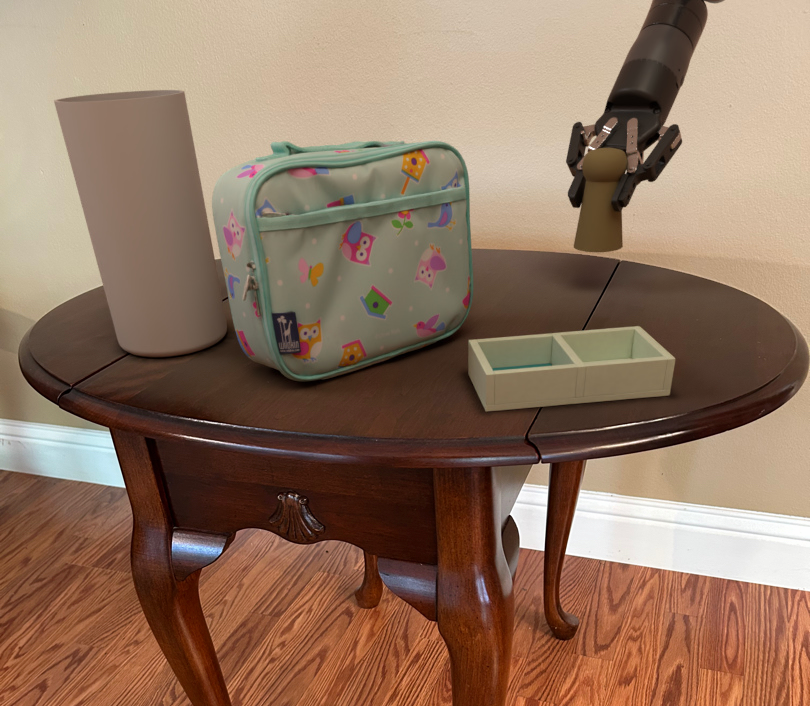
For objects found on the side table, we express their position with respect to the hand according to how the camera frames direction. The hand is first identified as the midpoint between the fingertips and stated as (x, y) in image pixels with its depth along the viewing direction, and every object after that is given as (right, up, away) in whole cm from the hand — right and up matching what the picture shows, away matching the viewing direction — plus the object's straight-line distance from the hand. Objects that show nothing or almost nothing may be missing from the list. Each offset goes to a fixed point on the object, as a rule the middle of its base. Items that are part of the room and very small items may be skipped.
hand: (594, 205), depth 91 cm
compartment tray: (-7, -25, -17) cm, 32 cm away
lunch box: (-28, -20, -8) cm, 35 cm away
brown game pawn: (+1, -4, +4) cm, 6 cm away
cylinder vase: (-50, -17, -2) cm, 53 cm away
